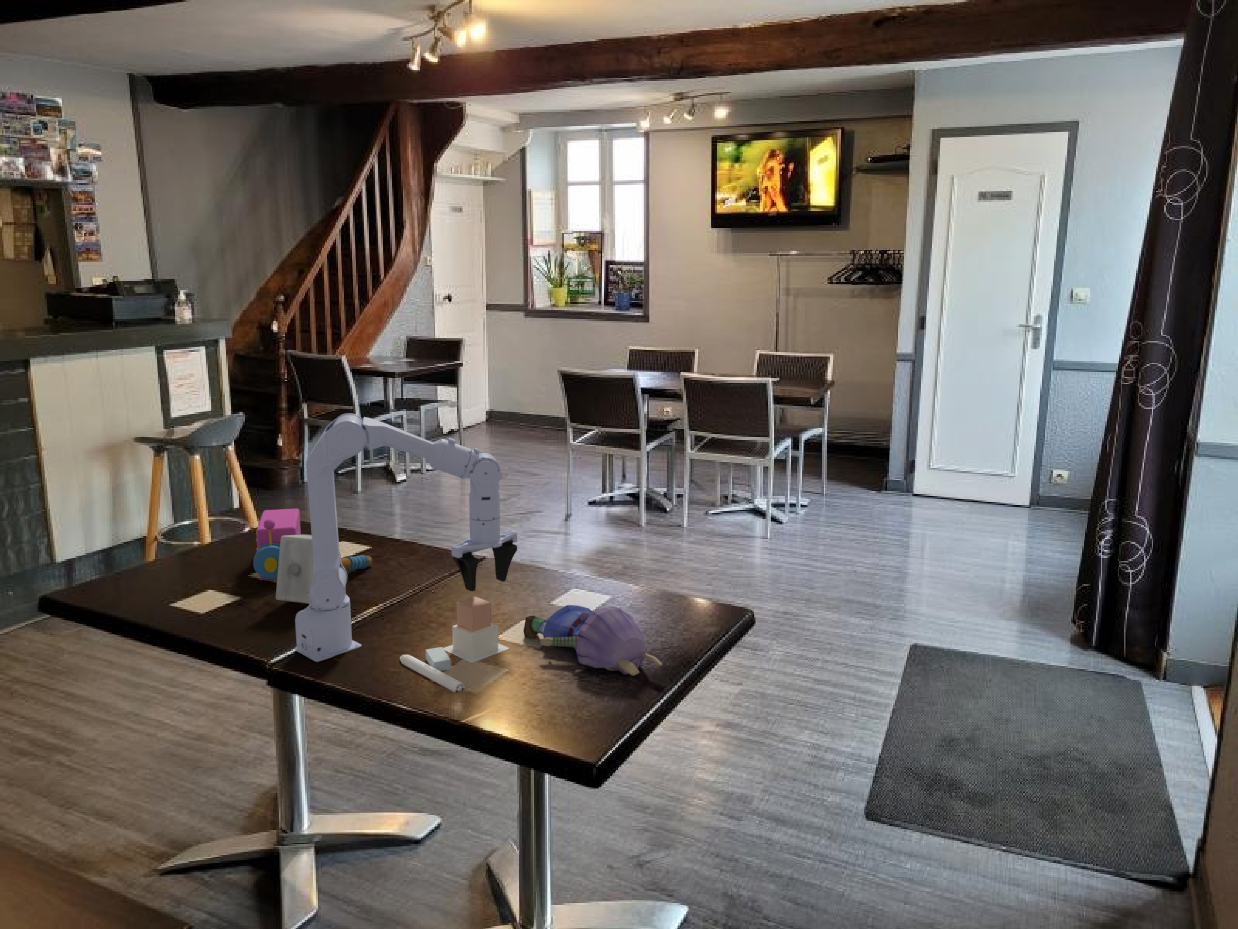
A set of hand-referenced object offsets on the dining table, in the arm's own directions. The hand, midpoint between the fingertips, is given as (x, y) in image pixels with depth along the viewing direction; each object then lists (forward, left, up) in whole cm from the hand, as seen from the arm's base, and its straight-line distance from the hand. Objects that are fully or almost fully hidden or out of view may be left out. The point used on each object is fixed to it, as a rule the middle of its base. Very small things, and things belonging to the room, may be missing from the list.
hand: (485, 584), depth 176 cm
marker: (-19, -7, -11) cm, 23 cm away
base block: (-6, -4, -10) cm, 12 cm away
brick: (-15, -5, -11) cm, 19 cm away
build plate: (-6, -4, -10) cm, 13 cm away
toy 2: (+8, -22, -11) cm, 26 cm away
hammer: (-6, +46, -11) cm, 48 cm away
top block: (-6, -4, -6) cm, 9 cm away
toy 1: (-8, +66, -11) cm, 67 cm away
